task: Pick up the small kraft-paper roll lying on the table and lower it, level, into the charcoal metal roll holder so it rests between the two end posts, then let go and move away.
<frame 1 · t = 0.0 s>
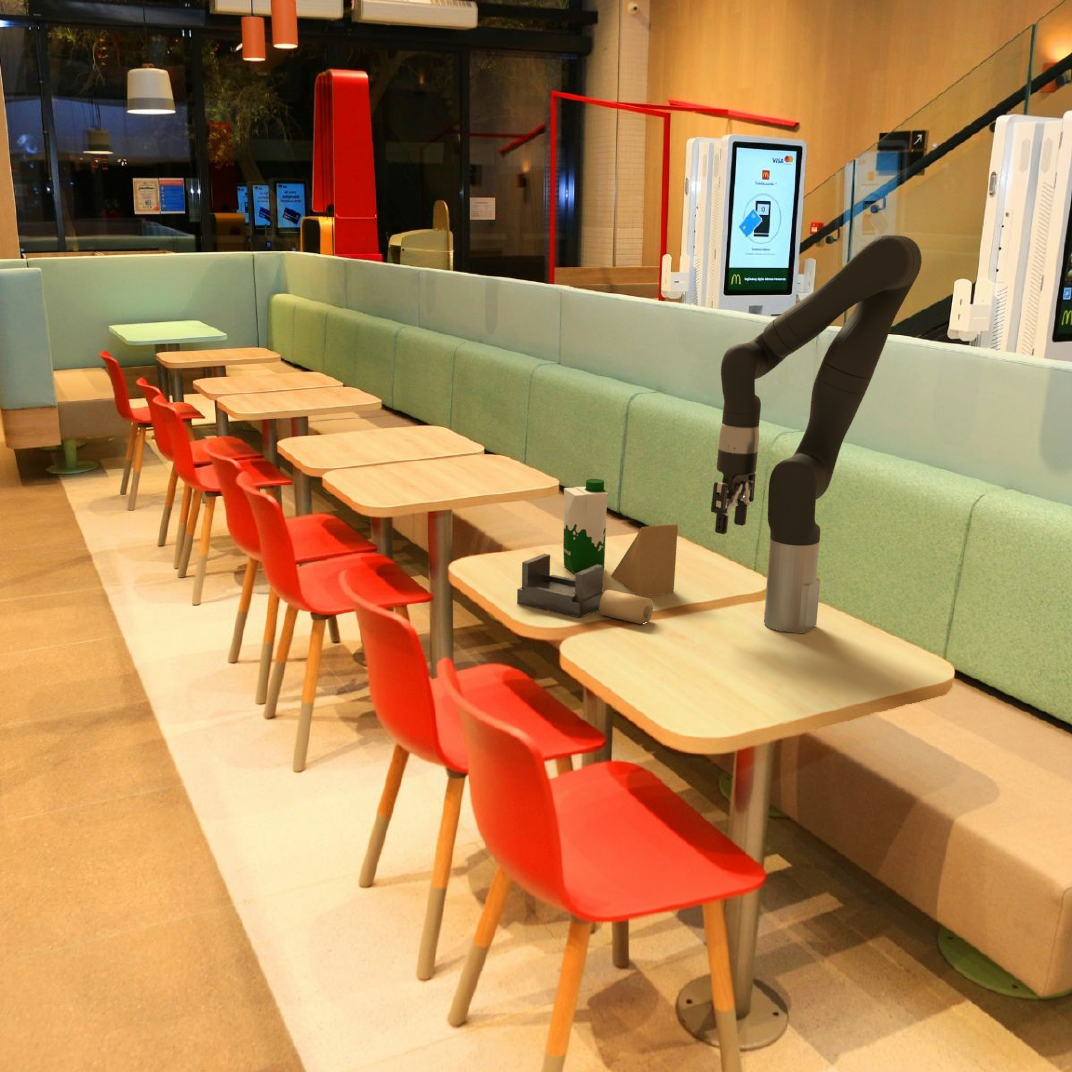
hand: (730, 528, 224), 17 cm above the table, tool pointing down, fingers open, 8 cm apart
sandwich container: (641, 585, 246), on the table
paper roll: (625, 619, 224), on the table
milk carton: (583, 569, 256), on the table
roll holder: (561, 604, 232), on the table
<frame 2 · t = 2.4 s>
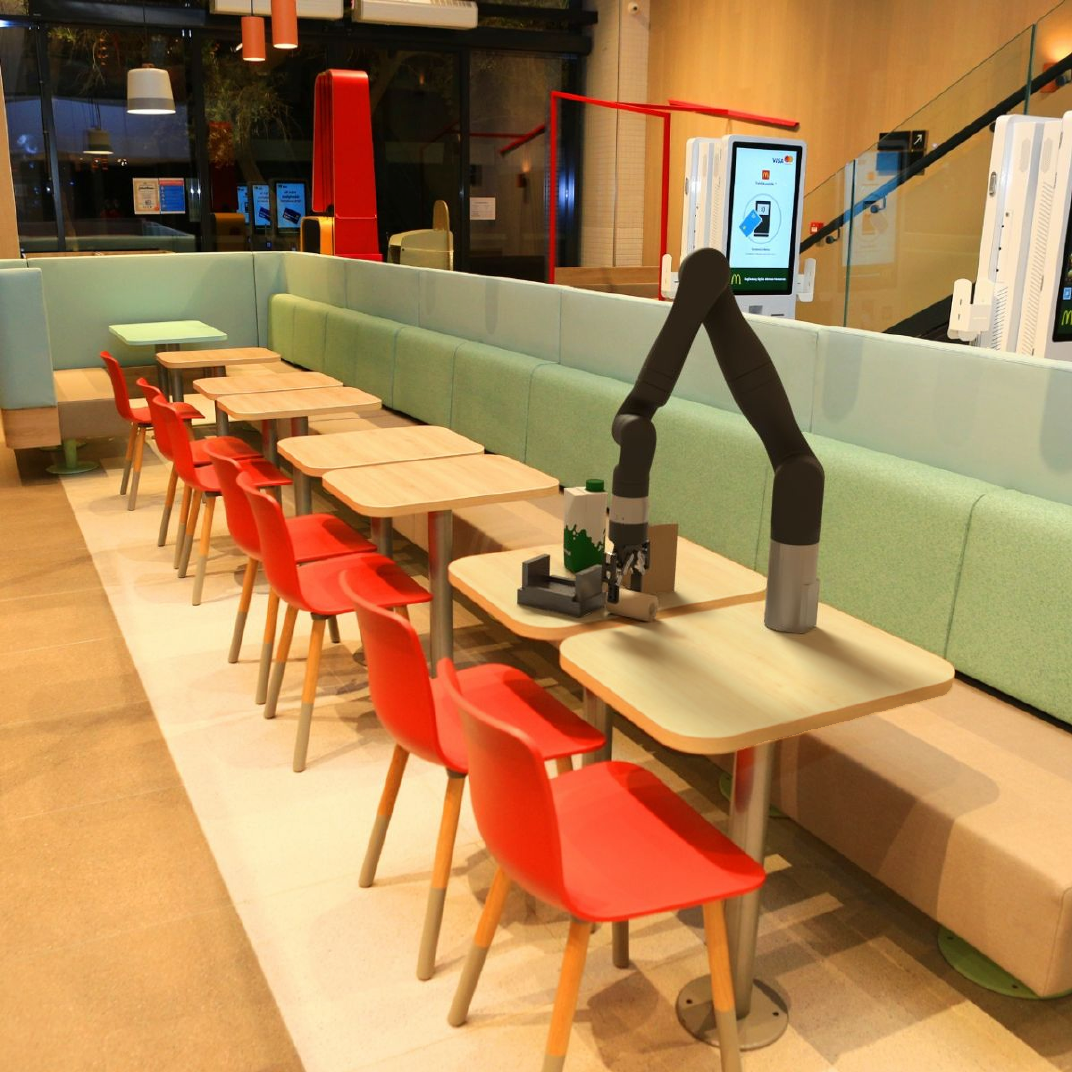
hand: (624, 597, 223), 4 cm above the table, tool pointing down, fingers open, 8 cm apart
paper roll: (626, 615, 224), point 1 cm above the table, tilted 50°, touching gripper
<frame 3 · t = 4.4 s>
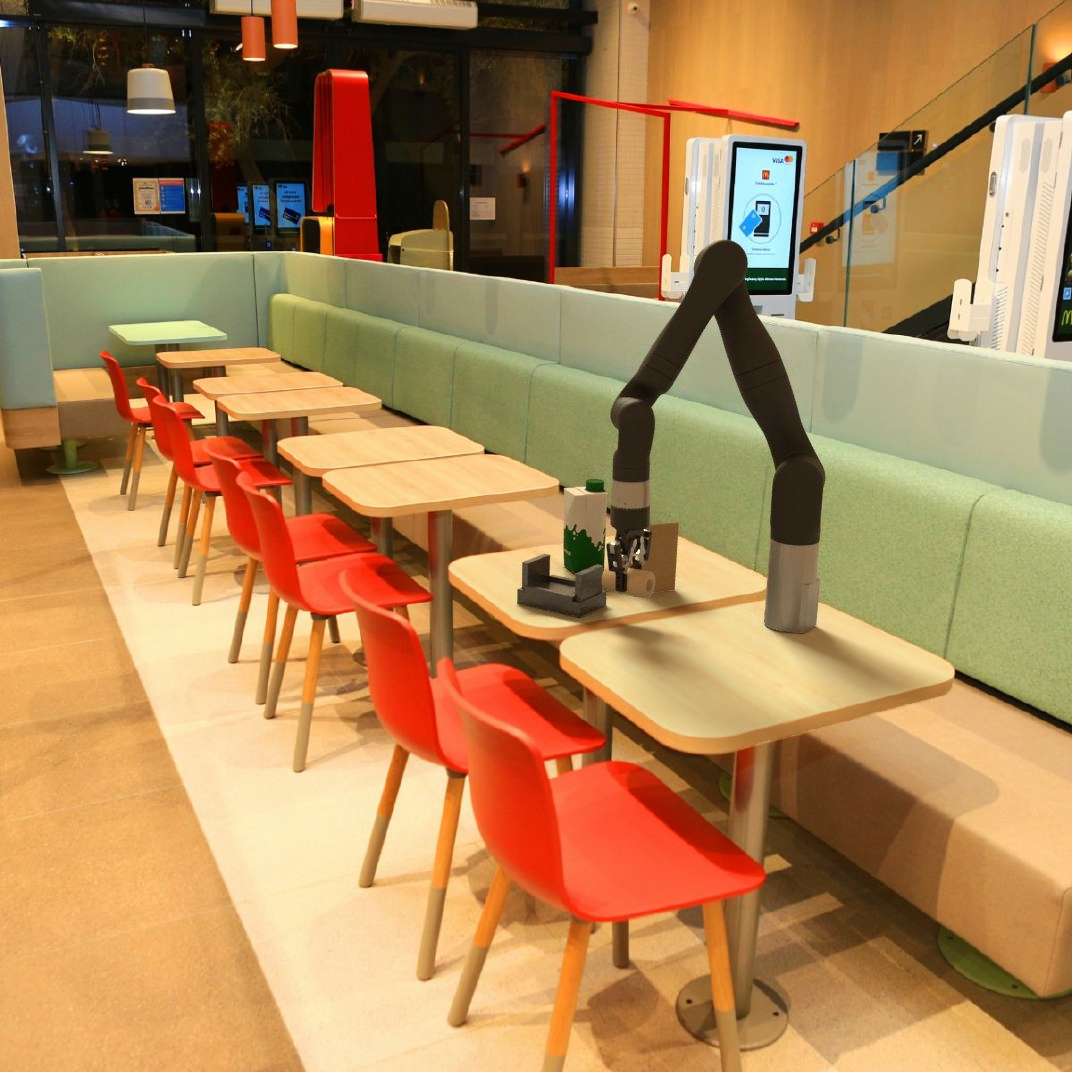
hand: (628, 587, 221), 7 cm above the table, tool pointing down, fingers closed on paper roll, 5 cm apart
paper roll: (627, 594, 221), point 5 cm above the table, tilted 6°, touching gripper
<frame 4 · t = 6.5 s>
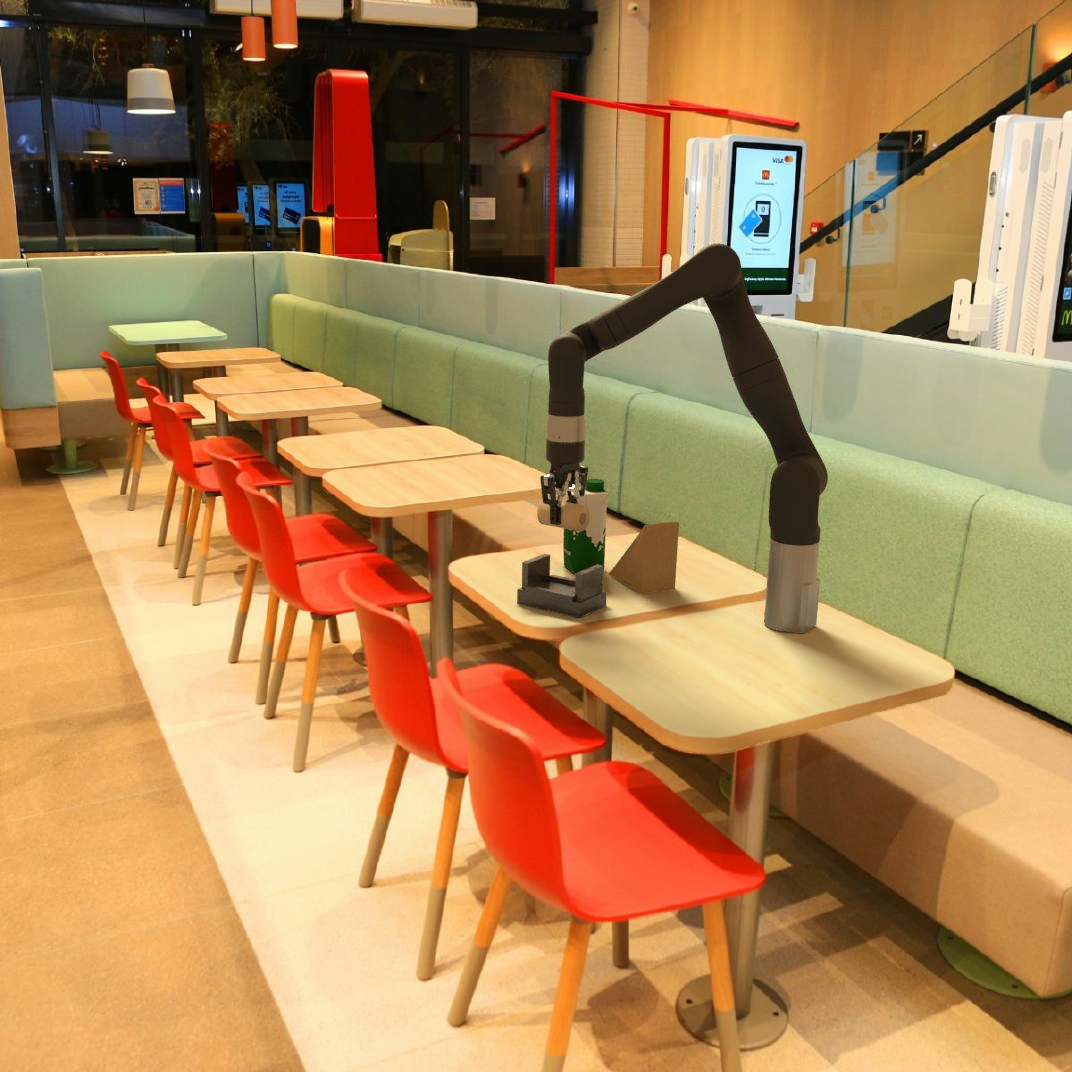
hand: (563, 521, 227), 17 cm above the table, tool pointing down, fingers closed on paper roll, 5 cm apart
paper roll: (562, 527, 227), point 16 cm above the table, tilted 6°, touching gripper
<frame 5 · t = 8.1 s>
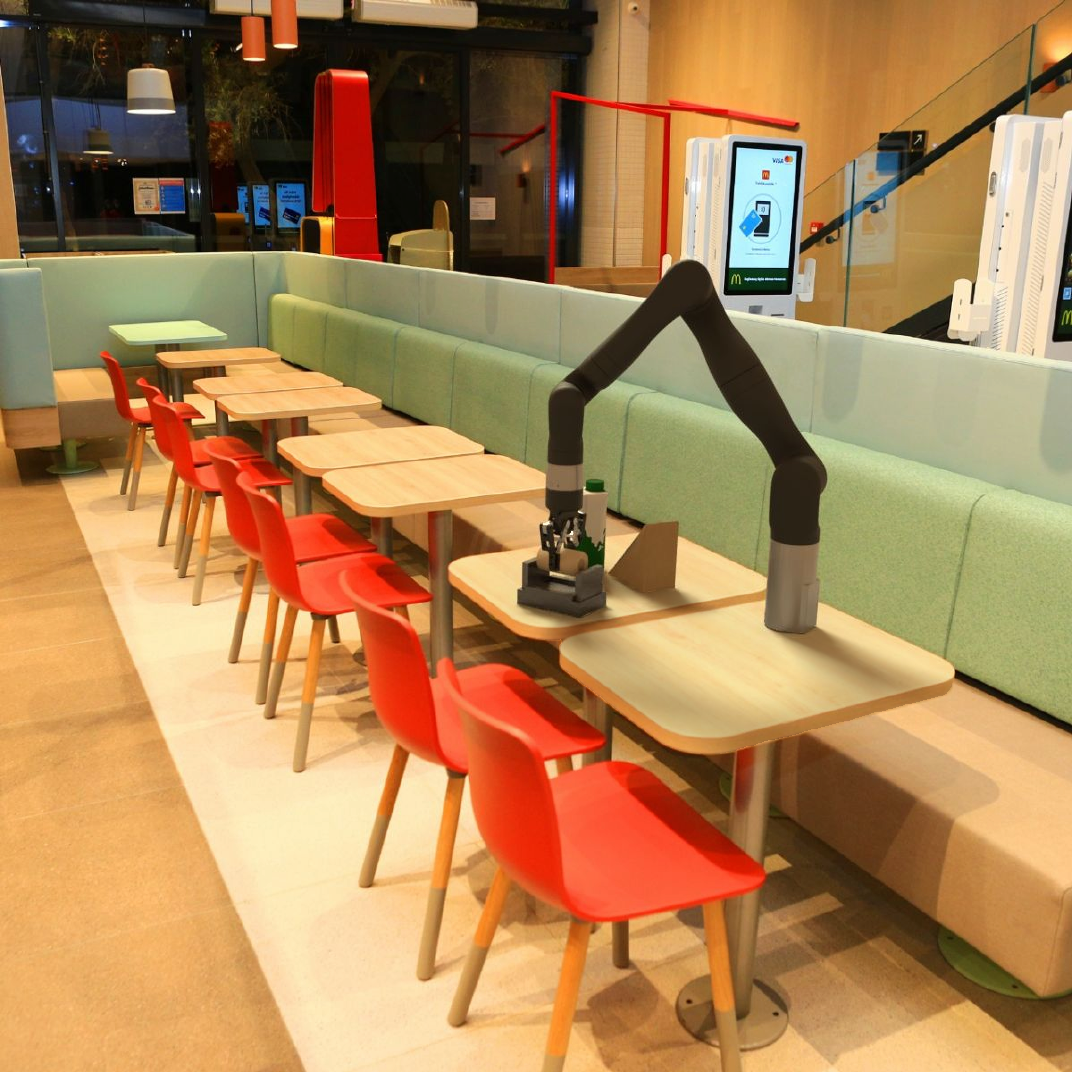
hand: (562, 566, 230), 8 cm above the table, tool pointing down, fingers closed on paper roll, 5 cm apart
paper roll: (561, 573, 230), point 7 cm above the table, tilted 6°, touching gripper
when the fingers open (5 cm above the table, at t = 9.6 s): paper roll stays where it is, resting on roll holder.
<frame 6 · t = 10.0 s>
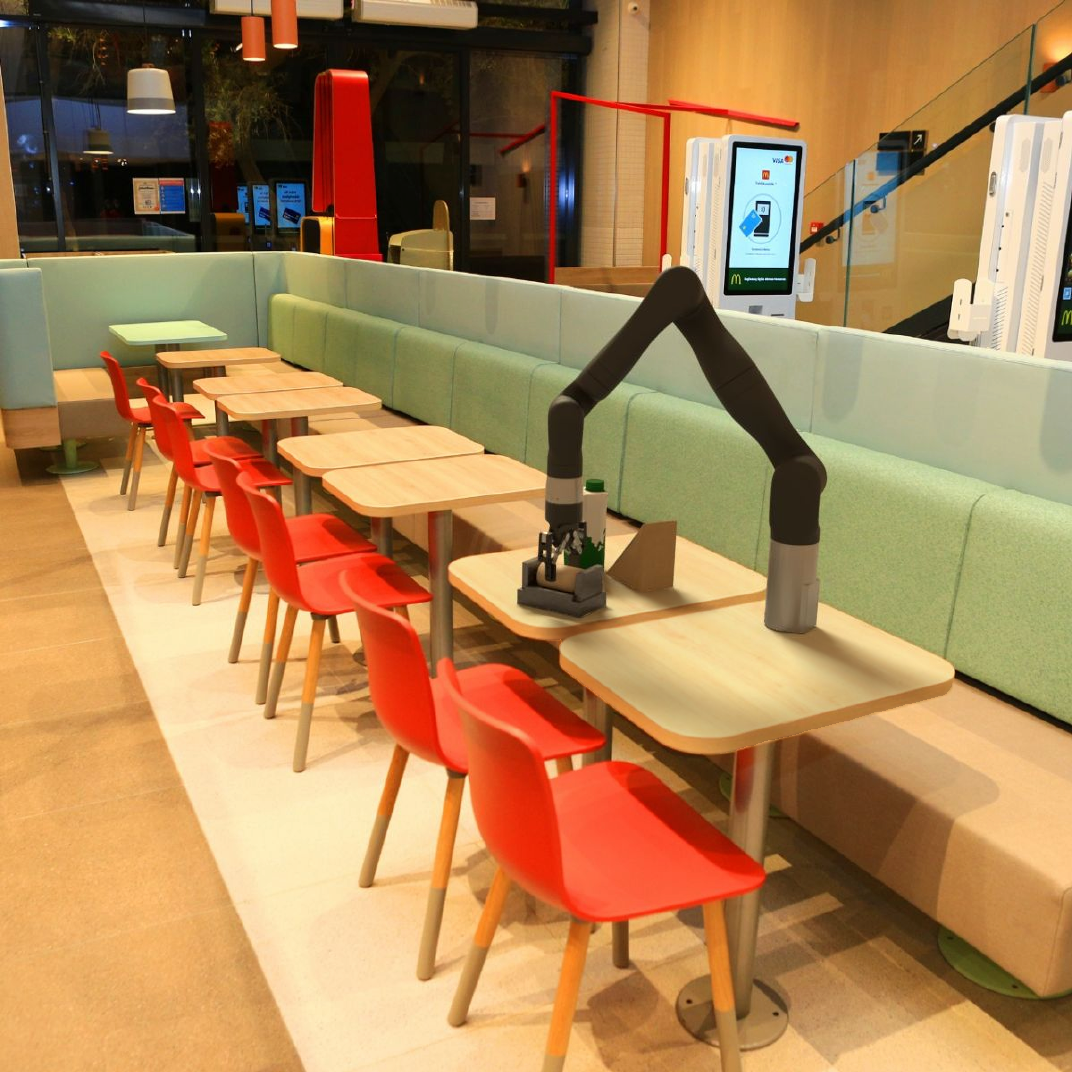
hand: (562, 576, 230), 6 cm above the table, tool pointing down, fingers open, 8 cm apart
paper roll: (561, 590, 231), point 3 cm above the table, tilted 7°, touching roll holder
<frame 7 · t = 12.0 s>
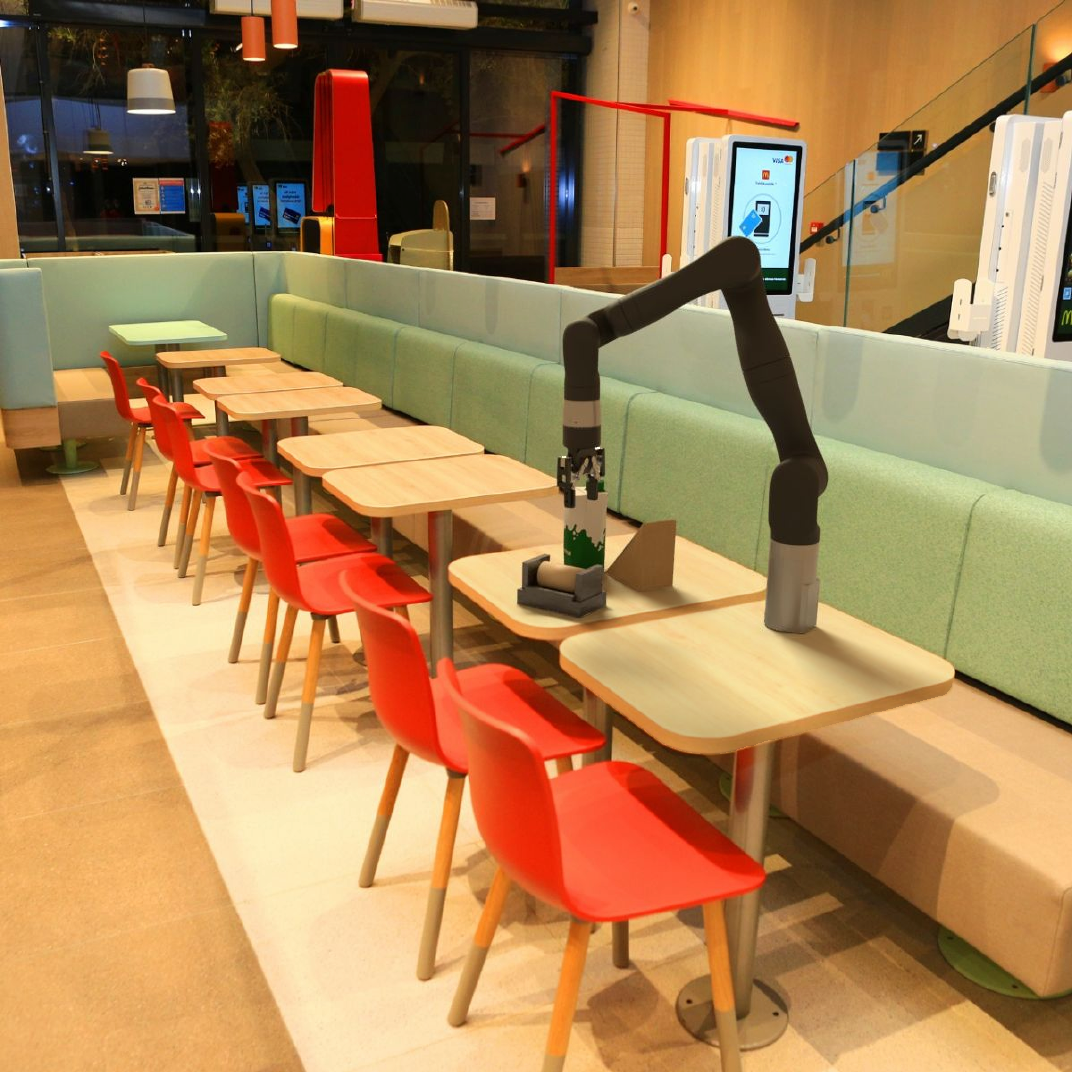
hand: (581, 503, 226), 21 cm above the table, tool pointing down, fingers open, 8 cm apart
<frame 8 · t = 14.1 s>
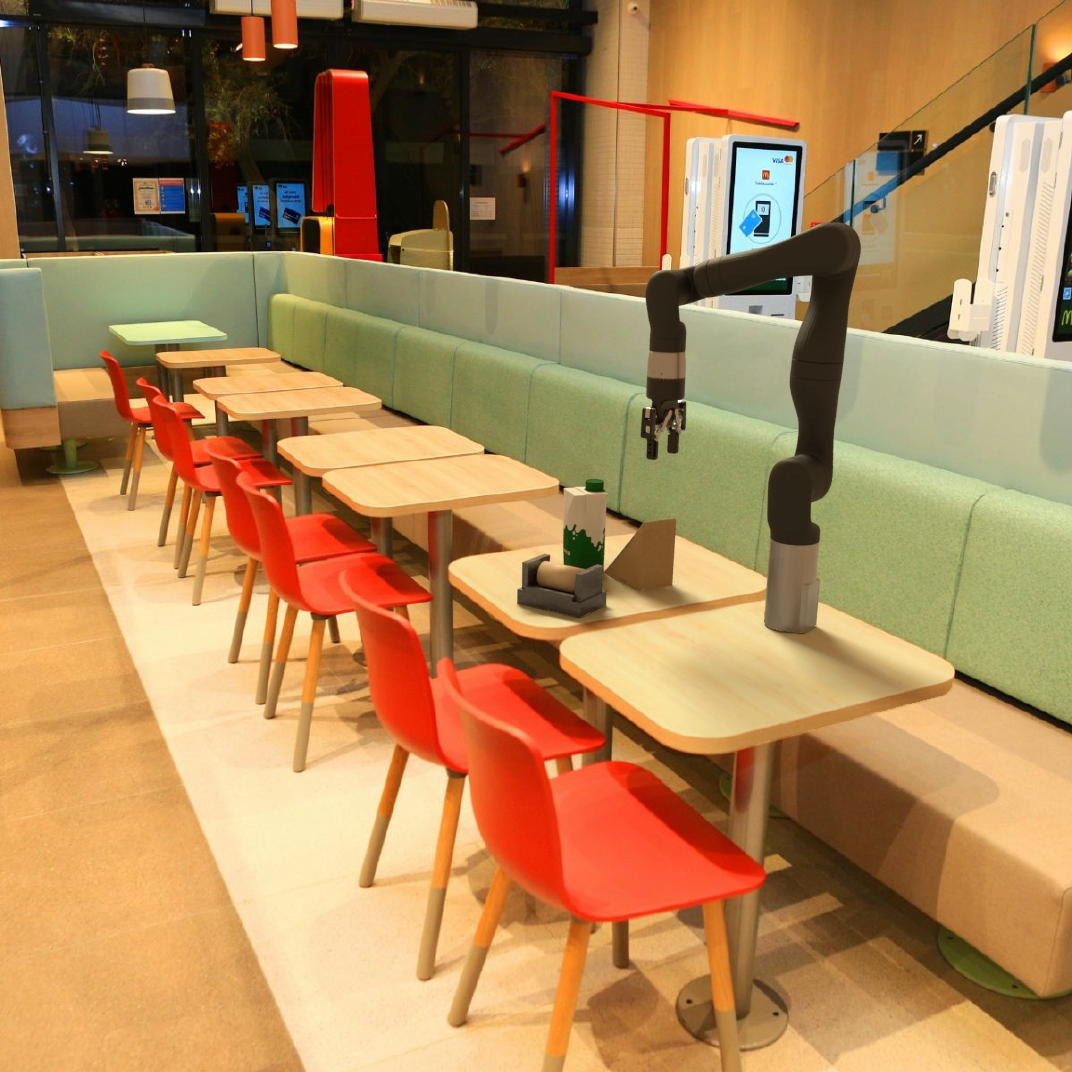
hand: (662, 456, 227), 30 cm above the table, tool pointing down, fingers open, 8 cm apart
at the end: paper roll 0.3 cm off-centre on the roll holder, point 3.0 cm above the roll holder's base; the gripper is holding nothing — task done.
